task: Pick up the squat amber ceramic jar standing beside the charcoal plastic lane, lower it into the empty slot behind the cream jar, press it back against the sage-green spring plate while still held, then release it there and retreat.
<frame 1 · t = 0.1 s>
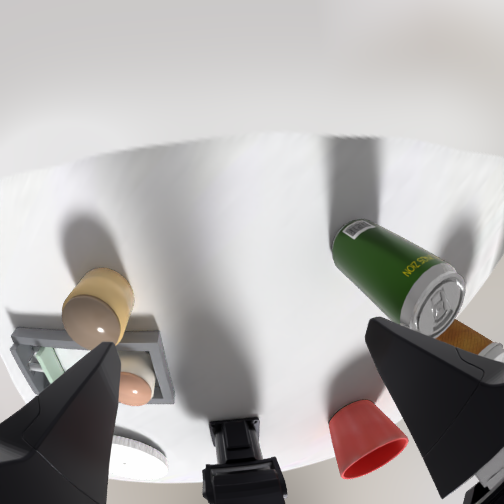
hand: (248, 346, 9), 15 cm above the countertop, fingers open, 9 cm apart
amber jar: (106, 295, 23), on the countertop
flower pot: (351, 413, 36), on the countertop
beer can: (353, 244, 25), on the countertop
cream jar: (134, 364, 26), resting in lane
lane: (90, 363, 25), on the countertop
plastic lid: (125, 450, 32), on the countertop
disposable coffee cup: (433, 330, 33), on the countertop
pusher: (36, 367, 22), point 2 cm above the countertop, slide at 0.0 cm
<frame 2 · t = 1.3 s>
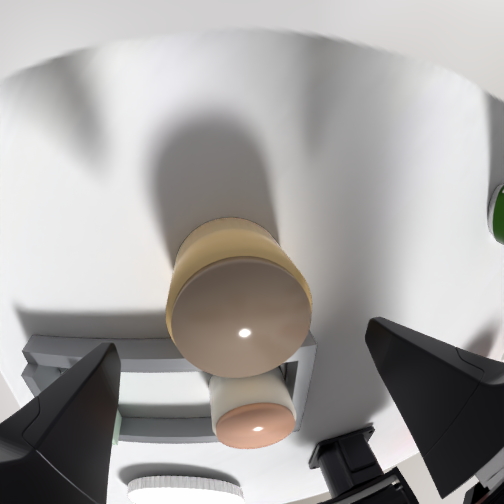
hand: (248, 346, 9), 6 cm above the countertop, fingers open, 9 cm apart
amber jar: (229, 270, 14), on the countertop
beer can: (498, 209, 17), on the countertop
cream jar: (246, 384, 17), resting in lane
lane: (167, 389, 16), on the countertop
plastic lid: (184, 486, 24), on the countertop
pusher: (68, 401, 14), point 2 cm above the countertop, slide at 0.0 cm
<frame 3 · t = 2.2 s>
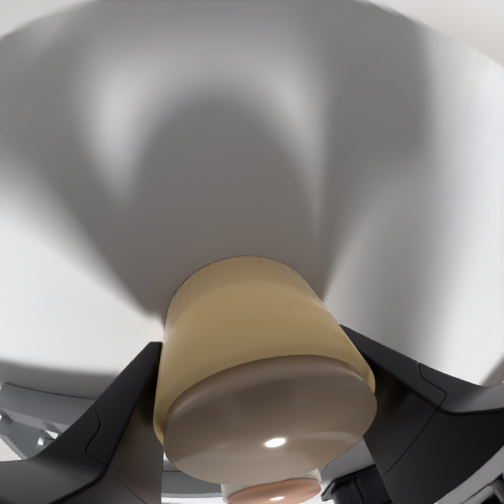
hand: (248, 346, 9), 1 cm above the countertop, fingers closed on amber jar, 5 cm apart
amber jar: (244, 327, 10), on the countertop, touching gripper
cream jar: (260, 442, 13), resting in lane
lane: (166, 448, 12), on the countertop
pusher: (53, 455, 9), point 2 cm above the countertop, slide at 0.0 cm
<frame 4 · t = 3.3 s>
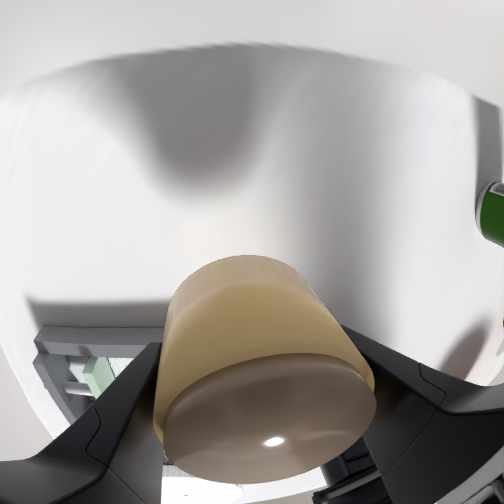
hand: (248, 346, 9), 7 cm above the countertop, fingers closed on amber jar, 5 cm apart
amber jar: (243, 327, 10), point 6 cm above the countertop, touching gripper
beer can: (486, 208, 18), on the countertop
lane: (171, 376, 18), on the countertop
plastic lid: (185, 478, 25), on the countertop
pusher: (76, 388, 15), point 2 cm above the countertop, slide at 0.0 cm
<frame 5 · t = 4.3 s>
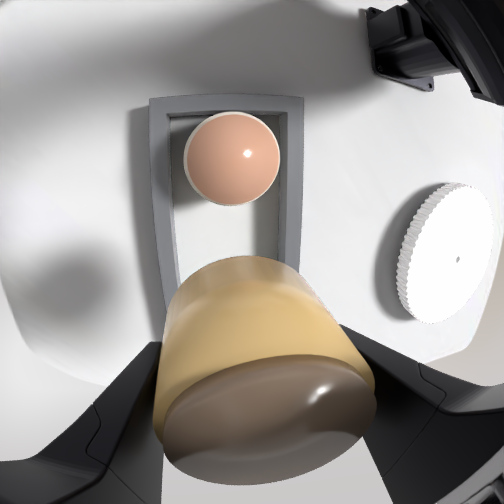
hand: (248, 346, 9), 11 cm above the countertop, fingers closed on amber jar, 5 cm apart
amber jar: (243, 327, 10), point 10 cm above the countertop, touching gripper
cream jar: (225, 155, 17), resting in lane
lane: (227, 235, 19), on the countertop
plastic lid: (439, 249, 23), on the countertop
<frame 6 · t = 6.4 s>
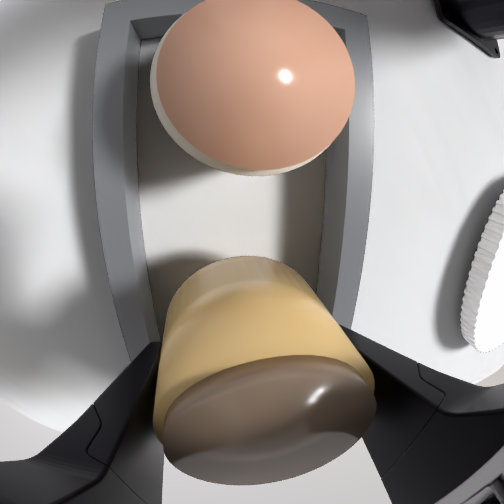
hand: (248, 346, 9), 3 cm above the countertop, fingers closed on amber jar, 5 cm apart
amber jar: (243, 327, 10), point 2 cm above the countertop, touching gripper, pusher
cream jar: (235, 97, 9), resting in lane
lane: (235, 239, 11), on the countertop
plastic lid: (501, 259, 15), on the countertop
when the fingers open (3 cm above the countertop, at t = 6.5 s): amber jar drops 2 cm, resting in lane.
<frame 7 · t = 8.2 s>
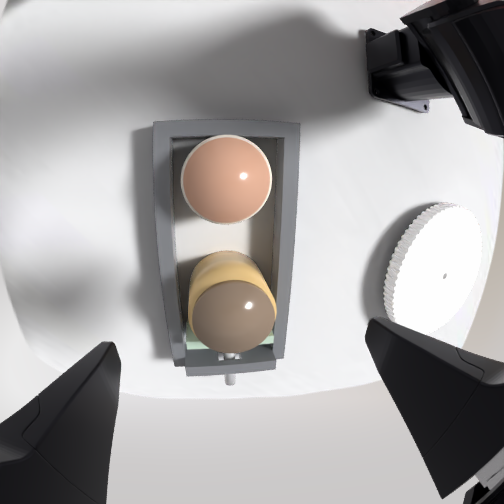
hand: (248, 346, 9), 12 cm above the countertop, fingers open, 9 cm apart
amber jar: (226, 285, 21), resting in lane
cream jar: (225, 176, 18), resting in lane
lane: (225, 251, 20), on the countertop
plastic lid: (428, 265, 25), on the countertop
pusher: (229, 357, 21), point 2 cm above the countertop, slide at 1.2 cm
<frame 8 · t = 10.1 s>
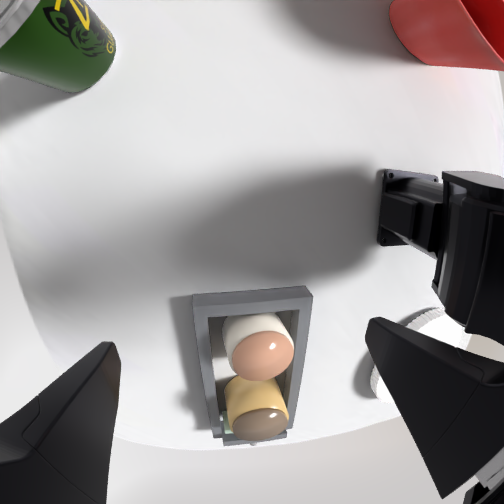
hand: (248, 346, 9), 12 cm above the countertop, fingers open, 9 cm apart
amber jar: (251, 389, 26), resting in lane
flower pot: (417, 30, 16), on the countertop
beer can: (86, 61, 14), on the countertop
cream jar: (251, 329, 23), resting in lane
lane: (250, 372, 25), on the countertop
plastic lid: (411, 350, 30), on the countertop
pusher: (253, 431, 26), point 2 cm above the countertop, slide at 1.2 cm
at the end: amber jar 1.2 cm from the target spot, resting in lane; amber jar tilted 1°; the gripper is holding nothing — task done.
